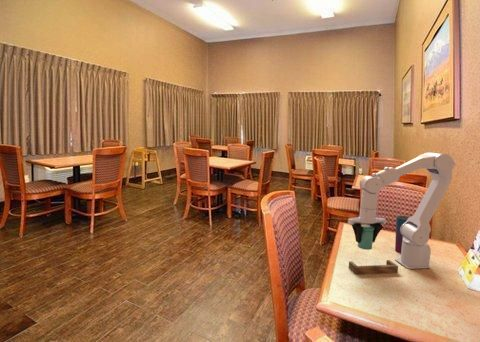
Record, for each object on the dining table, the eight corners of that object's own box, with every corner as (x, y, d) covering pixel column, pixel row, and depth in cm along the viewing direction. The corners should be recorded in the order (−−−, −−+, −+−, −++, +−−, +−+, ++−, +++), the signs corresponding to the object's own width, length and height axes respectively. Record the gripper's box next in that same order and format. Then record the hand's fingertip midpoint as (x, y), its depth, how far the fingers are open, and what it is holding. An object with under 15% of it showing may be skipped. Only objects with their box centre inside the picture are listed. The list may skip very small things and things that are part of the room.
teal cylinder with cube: (363, 241, 120) (365, 222, 119) (375, 249, 112) (377, 229, 111) (351, 242, 119) (352, 223, 118) (362, 250, 111) (363, 229, 110)
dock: (388, 266, 113) (389, 260, 112) (397, 272, 108) (398, 266, 107) (348, 267, 110) (349, 261, 110) (355, 274, 106) (356, 267, 105)
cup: (413, 255, 123) (417, 220, 121) (395, 253, 125) (399, 219, 123) (407, 248, 130) (411, 216, 128) (390, 247, 131) (394, 214, 129)
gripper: (379, 204, 117) (376, 237, 119) (345, 205, 115) (342, 238, 117) (390, 209, 110) (387, 244, 112) (354, 210, 108) (351, 245, 110)
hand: (365, 241), depth 114 cm, fingers closed on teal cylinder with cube, 5 cm apart
